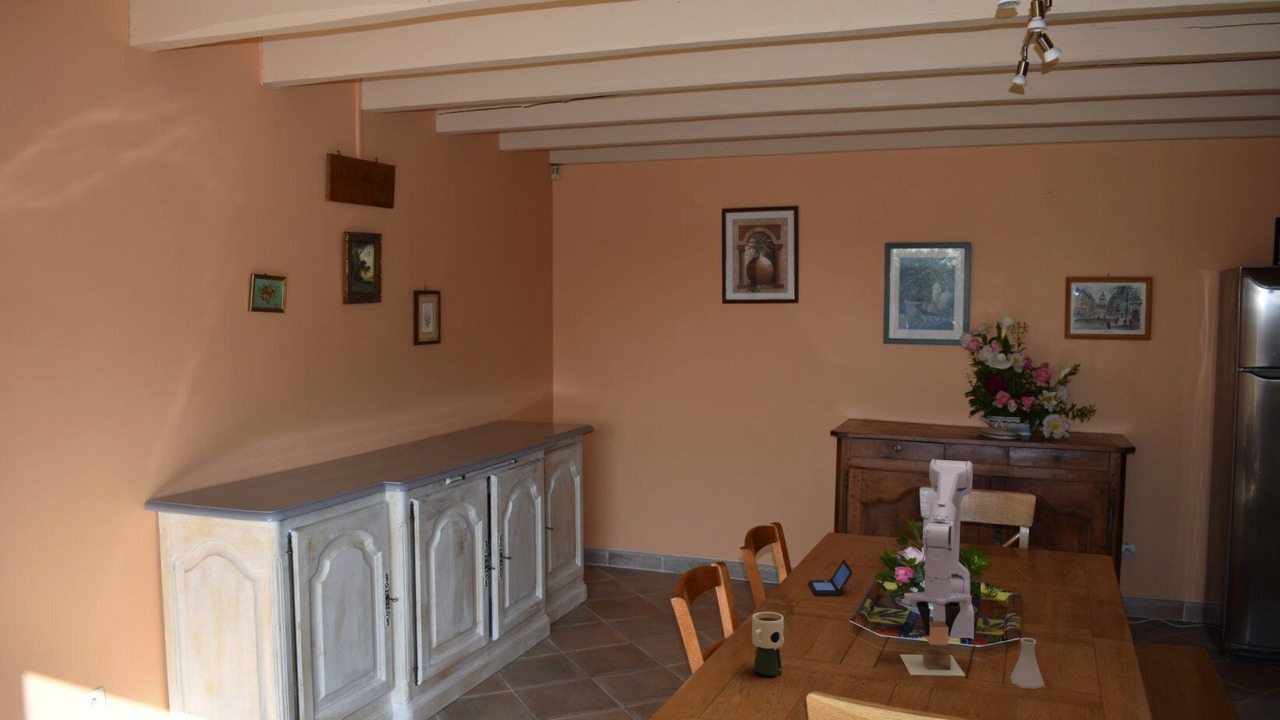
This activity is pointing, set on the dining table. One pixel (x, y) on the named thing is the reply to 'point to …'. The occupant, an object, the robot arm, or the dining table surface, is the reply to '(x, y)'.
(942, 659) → the walnut base brick
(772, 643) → the character mug
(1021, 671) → the flask
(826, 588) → the handheld game console
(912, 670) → the plate
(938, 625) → the terracotta cube
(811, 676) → the dining table surface
